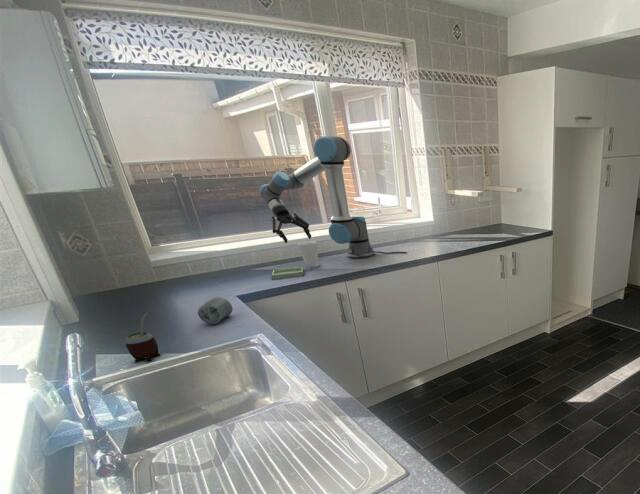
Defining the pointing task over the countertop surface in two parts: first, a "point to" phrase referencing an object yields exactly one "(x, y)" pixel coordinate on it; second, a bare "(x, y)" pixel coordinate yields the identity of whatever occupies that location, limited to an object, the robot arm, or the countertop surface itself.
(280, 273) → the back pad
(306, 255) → the foam cup
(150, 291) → the countertop surface
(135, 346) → the mate gourd
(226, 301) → the grey rolled towel
